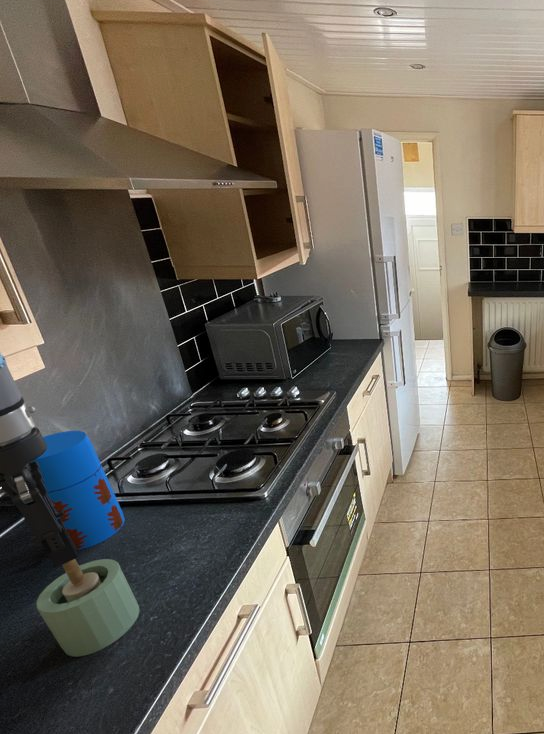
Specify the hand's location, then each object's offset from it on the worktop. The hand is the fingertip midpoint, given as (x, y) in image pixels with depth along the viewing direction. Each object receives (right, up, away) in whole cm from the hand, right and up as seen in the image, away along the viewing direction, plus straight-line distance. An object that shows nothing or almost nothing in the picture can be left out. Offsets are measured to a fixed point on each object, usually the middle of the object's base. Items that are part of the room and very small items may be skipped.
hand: (65, 557), depth 69 cm
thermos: (-21, -8, +26) cm, 34 cm away
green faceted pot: (0, -16, +7) cm, 17 cm away
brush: (0, -10, +4) cm, 10 cm away
